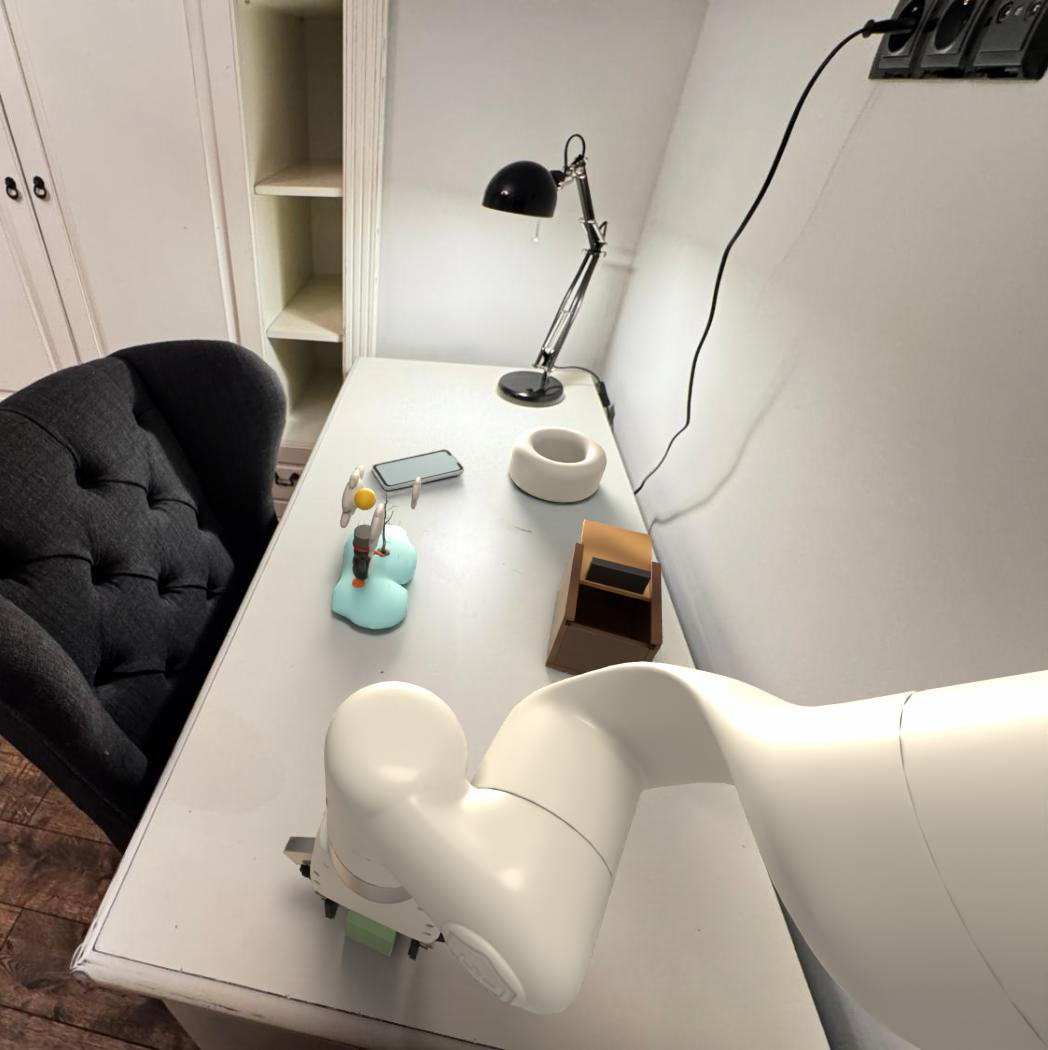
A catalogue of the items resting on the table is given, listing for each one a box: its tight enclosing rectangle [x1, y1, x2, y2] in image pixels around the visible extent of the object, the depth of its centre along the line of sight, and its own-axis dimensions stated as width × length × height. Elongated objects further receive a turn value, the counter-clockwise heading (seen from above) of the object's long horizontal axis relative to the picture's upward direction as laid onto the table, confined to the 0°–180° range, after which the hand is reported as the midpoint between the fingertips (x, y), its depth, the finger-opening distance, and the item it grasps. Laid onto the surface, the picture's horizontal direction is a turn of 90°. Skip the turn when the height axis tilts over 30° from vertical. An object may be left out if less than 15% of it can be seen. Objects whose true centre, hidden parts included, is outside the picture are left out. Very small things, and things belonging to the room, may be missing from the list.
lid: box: [579, 519, 653, 602], centre depth 70 cm, size 12×8×3 cm
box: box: [544, 541, 664, 676], centre depth 69 cm, size 13×10×9 cm
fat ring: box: [508, 425, 608, 503], centre depth 96 cm, size 15×15×7 cm
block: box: [344, 908, 398, 958], centre depth 47 cm, size 4×4×4 cm
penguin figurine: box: [330, 463, 422, 630], centre depth 75 cm, size 20×11×15 cm, turn 167°
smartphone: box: [371, 448, 465, 491], centre depth 99 cm, size 7×1×15 cm
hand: (375, 917), depth 48 cm, fingers open, 6 cm apart
